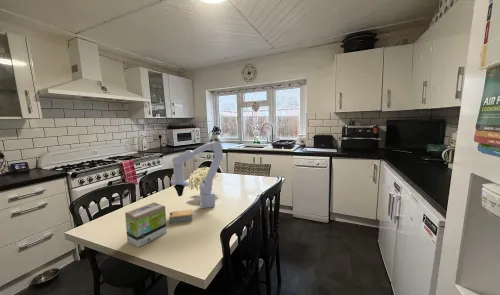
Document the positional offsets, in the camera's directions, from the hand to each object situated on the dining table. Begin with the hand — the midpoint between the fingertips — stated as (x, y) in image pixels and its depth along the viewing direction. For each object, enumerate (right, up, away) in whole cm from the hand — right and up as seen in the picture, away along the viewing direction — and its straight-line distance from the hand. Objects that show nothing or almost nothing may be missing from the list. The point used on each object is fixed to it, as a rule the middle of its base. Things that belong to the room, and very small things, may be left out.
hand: (180, 195), depth 129 cm
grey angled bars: (+5, -11, -11) cm, 16 cm away
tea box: (-6, -14, -28) cm, 32 cm away
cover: (+4, -8, -11) cm, 15 cm away
